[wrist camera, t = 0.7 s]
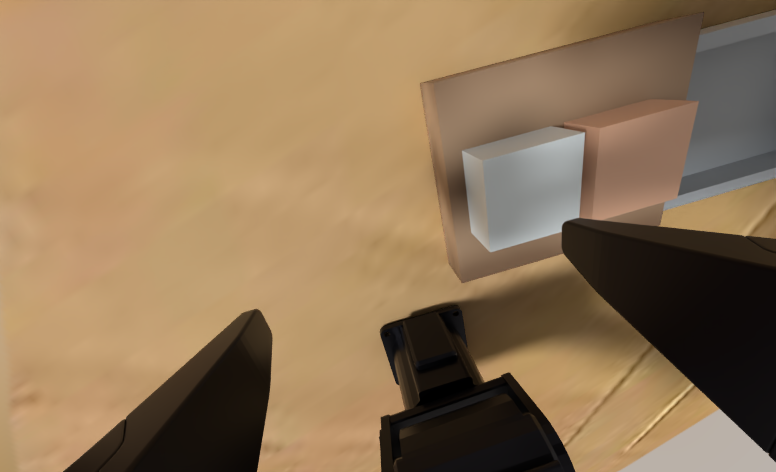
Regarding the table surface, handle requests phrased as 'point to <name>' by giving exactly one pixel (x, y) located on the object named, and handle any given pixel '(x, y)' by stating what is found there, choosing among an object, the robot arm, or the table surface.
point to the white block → (524, 186)
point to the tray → (732, 109)
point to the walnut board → (546, 118)
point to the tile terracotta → (633, 155)
